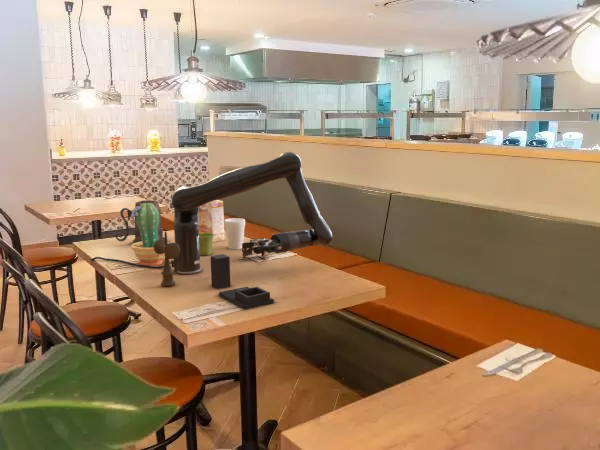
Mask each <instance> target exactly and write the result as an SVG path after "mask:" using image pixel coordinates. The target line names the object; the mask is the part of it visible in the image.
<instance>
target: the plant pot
mask: <svg viewBox="0 0 600 450" xmlns="http://www.w3.org/2000/svg"><path fill="white" fill-rule="evenodd" d="M213 236H214V234H212V233H199V246H200V256H209V255H211V254H212V250H213V242H212V240H213Z"/></svg>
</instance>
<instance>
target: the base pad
mask: <svg viewBox="0 0 600 450" xmlns="http://www.w3.org/2000/svg"><path fill="white" fill-rule="evenodd" d="M218 296H219V297H221V298H222V299H224V300H226V301H228V302H229V303H231V304H234V305H235V306H236V307H238V308H240V309H242V310H248V309H255V308H257V307H261V306H262V307H263V306H266V305H267V306H268V305H272V304H274V303H275V299H274V298H272V297H271V292H269V291H267V290H265V289H263V288H262V287H259V286H254V287H249V286H243V287H238V288H233V289H228V290H222V291H219V292H218Z"/></svg>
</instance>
